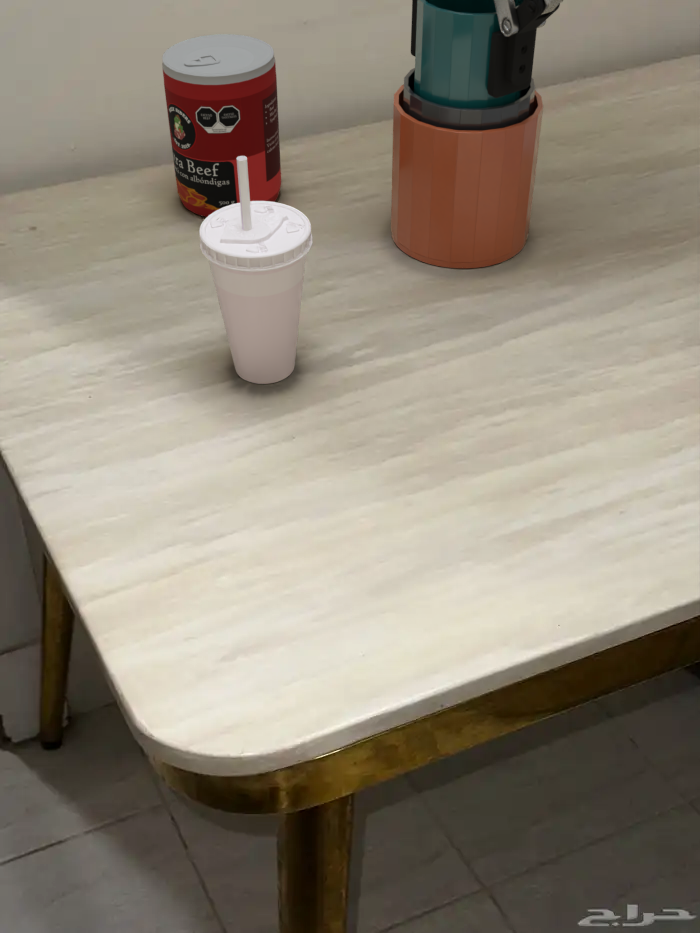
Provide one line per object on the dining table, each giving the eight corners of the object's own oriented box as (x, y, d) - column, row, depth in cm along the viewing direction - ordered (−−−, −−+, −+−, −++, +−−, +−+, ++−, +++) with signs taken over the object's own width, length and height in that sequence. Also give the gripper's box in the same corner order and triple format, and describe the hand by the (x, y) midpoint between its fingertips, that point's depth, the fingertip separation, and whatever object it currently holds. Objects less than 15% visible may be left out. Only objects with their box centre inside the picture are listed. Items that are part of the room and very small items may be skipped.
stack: (498, 192, 85) (509, 63, 78) (548, 257, 78) (566, 121, 71) (374, 209, 83) (375, 79, 76) (415, 277, 76) (420, 141, 69)
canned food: (158, 195, 85) (139, 52, 78) (241, 162, 89) (230, 24, 82) (218, 232, 81) (204, 85, 73) (302, 197, 85) (297, 54, 77)
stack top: (493, 197, 84) (506, 51, 77) (536, 253, 78) (555, 101, 71) (385, 212, 83) (387, 64, 75) (421, 271, 77) (427, 117, 69)
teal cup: (494, 96, 78) (505, -29, 73) (533, 139, 73) (548, 8, 67) (399, 108, 77) (403, -19, 71) (432, 152, 72) (439, 20, 66)
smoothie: (193, 362, 69) (166, 152, 60) (275, 324, 72) (262, 118, 63) (254, 411, 65) (236, 196, 56) (337, 369, 68) (334, 158, 59)
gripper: (656, -230, 57) (605, 102, 69) (444, -275, 68) (431, 20, 79) (549, -212, 54) (514, 134, 66) (343, -262, 64) (345, 43, 76)
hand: (469, 69), depth 72 cm, fingers closed on teal cup, 7 cm apart
